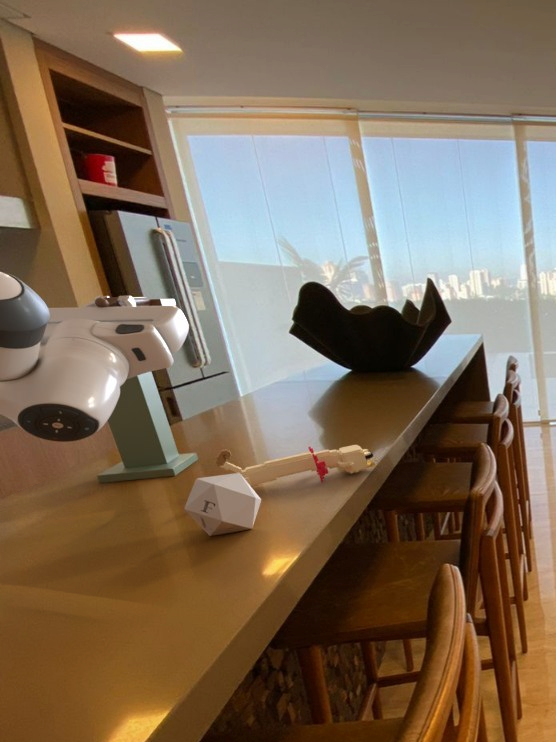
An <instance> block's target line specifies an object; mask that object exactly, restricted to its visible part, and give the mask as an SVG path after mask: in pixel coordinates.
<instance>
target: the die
mask: <svg viewBox="0 0 556 742" xmlns="http://www.w3.org/2000/svg"><path fill="white" fill-rule="evenodd" d="M261 503H262V498H261V497H260V496H259V495H258V494H257V492H256V491H255V490H254V488H253V487H251V486H250V485H249V484H248V483H247V481H246V480H245V479H244V478H243V476H242V475H241V474H240V473H236V472H233V473H227V474H221V475H220V474H219V475H213V476H205V477H198V478H195V481H194V483H193V486H192V488H191V491H190V493H189V496H188V498H187V500H186V503H185V505H184V508H183V509H184V511H185V512H186V513H187V515H189V517H191V518H192V519H193V520H194V522H196V523H197V525H199V527H200V528H201V529H203V531H204V532H205V533H206V534H207V535H208V536H209V537H213V536H218V535H225V534H230V533H235V532H241V531H247V530H252V529H253V528H254V525H255V522H256V518H257V516H258V512H259V509H260V507H261V506H260V505H261Z"/></svg>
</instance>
